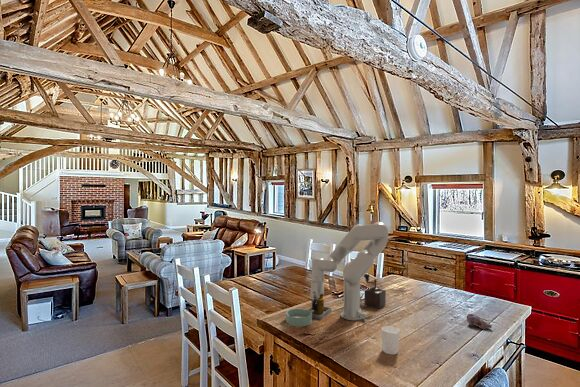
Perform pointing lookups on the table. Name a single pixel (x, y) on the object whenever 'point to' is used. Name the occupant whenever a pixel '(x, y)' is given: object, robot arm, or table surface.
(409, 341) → the table surface
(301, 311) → the bowl
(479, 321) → the grey-brown irregular lump
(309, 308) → the tray
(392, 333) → the white cup
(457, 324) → the table surface
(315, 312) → the condiment
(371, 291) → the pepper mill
